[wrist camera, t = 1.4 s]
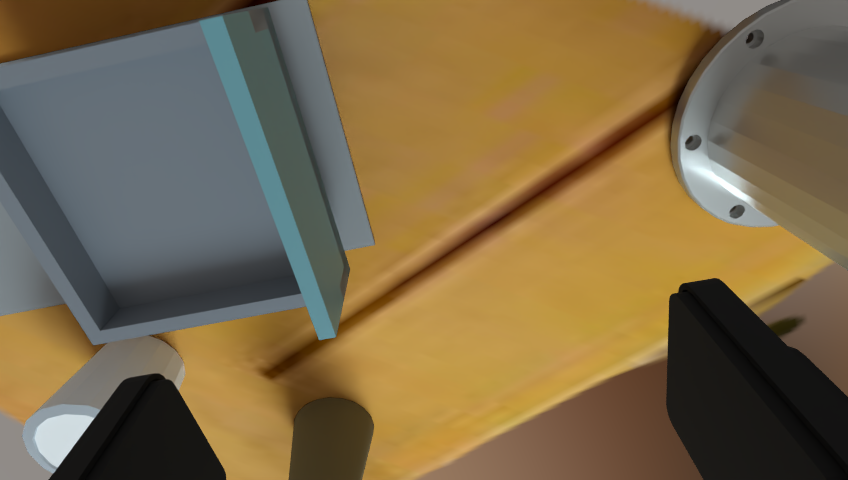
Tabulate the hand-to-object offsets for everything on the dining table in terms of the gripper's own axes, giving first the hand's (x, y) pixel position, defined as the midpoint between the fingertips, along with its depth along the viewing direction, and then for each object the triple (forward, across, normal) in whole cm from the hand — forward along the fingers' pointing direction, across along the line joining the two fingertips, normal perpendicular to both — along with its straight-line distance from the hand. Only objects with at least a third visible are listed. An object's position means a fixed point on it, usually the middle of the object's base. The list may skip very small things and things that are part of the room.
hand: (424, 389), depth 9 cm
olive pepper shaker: (+20, +11, +21) cm, 31 cm away
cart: (+20, +12, 0) cm, 23 cm away
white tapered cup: (+20, +22, +13) cm, 33 cm away
